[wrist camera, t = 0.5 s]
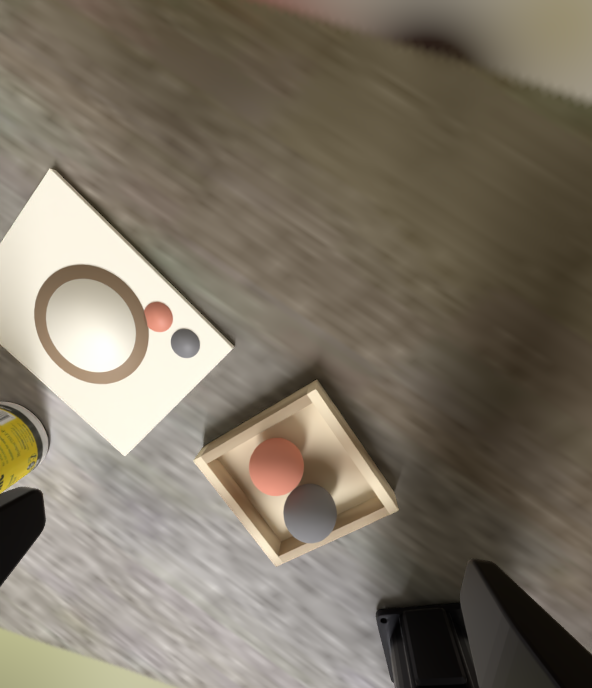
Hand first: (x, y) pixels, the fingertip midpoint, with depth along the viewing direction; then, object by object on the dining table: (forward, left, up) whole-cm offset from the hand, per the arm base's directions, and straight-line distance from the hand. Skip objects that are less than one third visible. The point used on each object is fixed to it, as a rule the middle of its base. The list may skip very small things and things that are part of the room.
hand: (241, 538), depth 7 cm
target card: (+5, +12, -14) cm, 19 cm away
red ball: (-6, +3, -13) cm, 15 cm away
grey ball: (-9, +2, -13) cm, 16 cm away
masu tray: (-7, +2, -14) cm, 16 cm away
